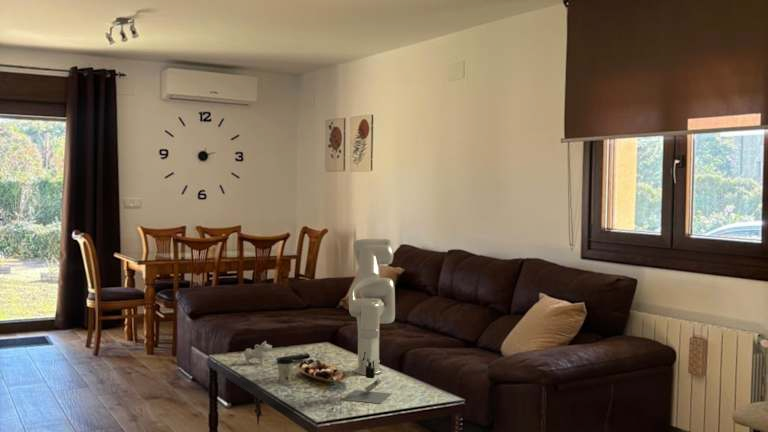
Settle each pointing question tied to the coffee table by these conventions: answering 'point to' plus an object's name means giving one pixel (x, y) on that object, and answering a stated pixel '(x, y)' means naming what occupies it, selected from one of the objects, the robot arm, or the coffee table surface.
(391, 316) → the robot arm
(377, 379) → the lighter
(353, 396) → the mat
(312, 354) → the coffee table surface
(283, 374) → the coffee cup
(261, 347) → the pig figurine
